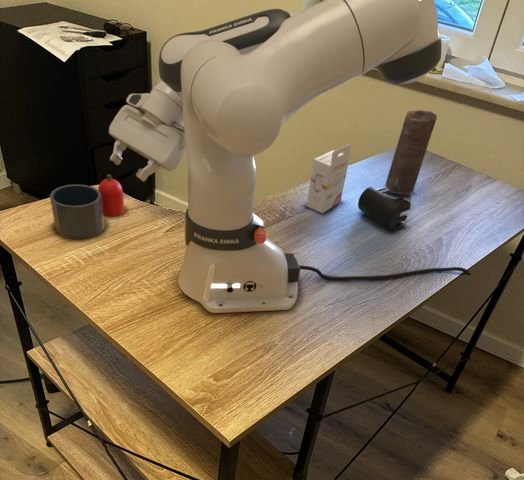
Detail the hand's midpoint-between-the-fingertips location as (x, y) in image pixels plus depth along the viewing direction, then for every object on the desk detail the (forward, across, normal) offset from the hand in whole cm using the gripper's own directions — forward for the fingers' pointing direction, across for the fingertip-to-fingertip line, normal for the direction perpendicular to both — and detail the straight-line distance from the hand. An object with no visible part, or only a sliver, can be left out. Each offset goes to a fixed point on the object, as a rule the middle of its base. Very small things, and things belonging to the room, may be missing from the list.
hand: (126, 170), depth 113 cm
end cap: (-25, -39, -36) cm, 59 cm away
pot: (+15, -2, +4) cm, 16 cm away
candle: (-37, -32, -49) cm, 69 cm away
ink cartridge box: (-21, -25, -33) cm, 47 cm away
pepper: (+9, 0, -3) cm, 9 cm away
